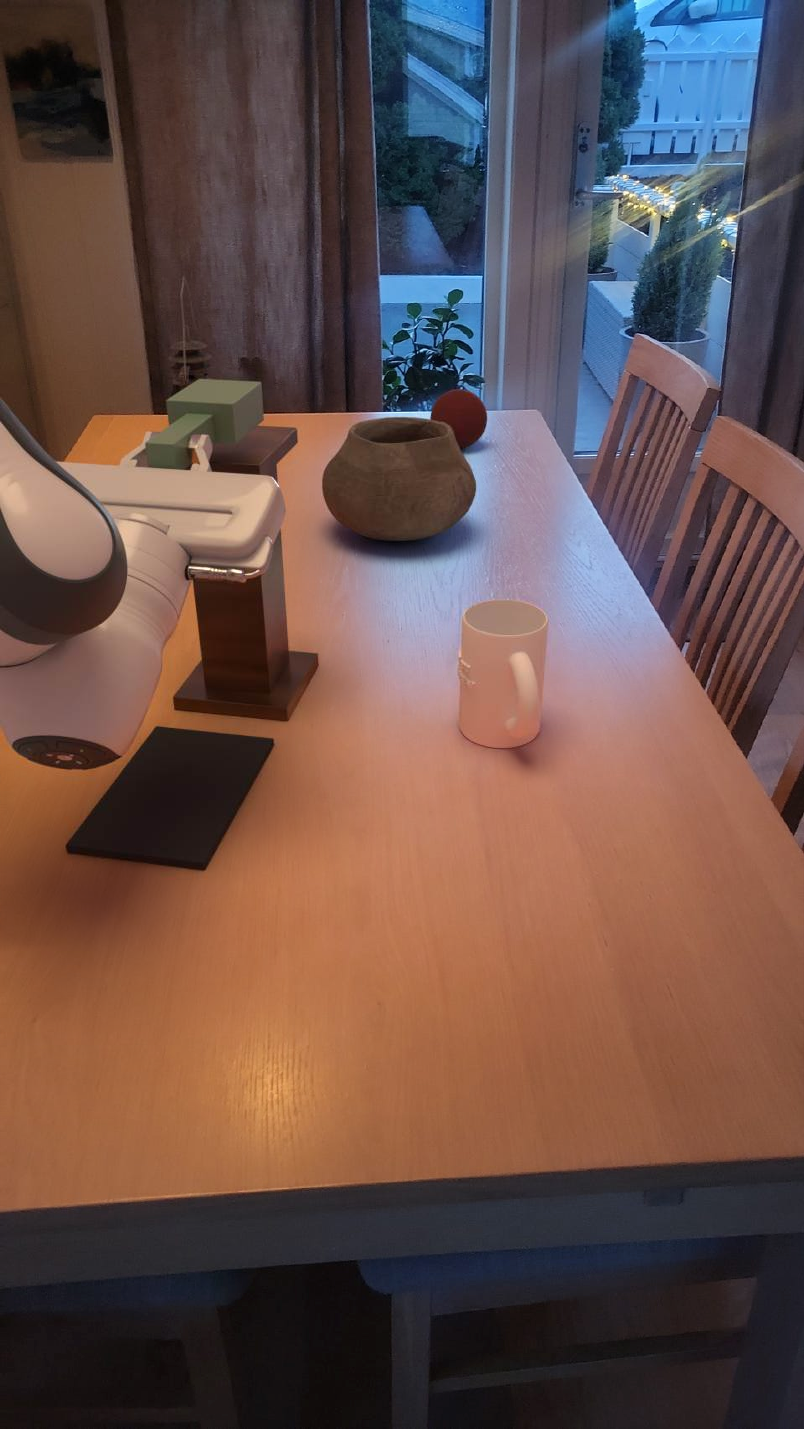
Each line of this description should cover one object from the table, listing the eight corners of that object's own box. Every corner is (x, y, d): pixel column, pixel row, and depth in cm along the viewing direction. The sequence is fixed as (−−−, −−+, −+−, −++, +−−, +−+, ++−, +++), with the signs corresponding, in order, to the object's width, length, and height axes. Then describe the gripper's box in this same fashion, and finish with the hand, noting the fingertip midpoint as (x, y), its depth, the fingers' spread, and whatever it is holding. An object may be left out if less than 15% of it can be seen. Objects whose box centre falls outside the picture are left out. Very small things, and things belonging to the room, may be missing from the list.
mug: (484, 777, 94) (489, 661, 88) (446, 712, 104) (448, 604, 98) (567, 764, 96) (579, 650, 89) (522, 701, 106) (530, 595, 99)
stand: (287, 721, 102) (270, 465, 89) (174, 709, 104) (140, 457, 91) (318, 665, 112) (307, 428, 99) (214, 655, 114) (189, 421, 101)
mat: (205, 870, 83) (204, 862, 82) (66, 852, 85) (65, 845, 84) (274, 745, 99) (273, 738, 98) (156, 732, 101) (155, 725, 100)
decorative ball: (424, 440, 186) (425, 384, 181) (478, 438, 187) (480, 382, 182) (436, 457, 177) (437, 398, 172) (492, 454, 179) (495, 395, 174)
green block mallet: (198, 477, 81) (194, 433, 79) (127, 472, 82) (121, 428, 80) (264, 420, 95) (261, 381, 94) (202, 416, 96) (199, 378, 95)
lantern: (178, 457, 177) (157, 270, 162) (240, 458, 177) (224, 270, 161) (161, 480, 167) (136, 282, 151) (226, 481, 166) (208, 282, 151)
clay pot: (294, 529, 148) (288, 425, 140) (407, 497, 159) (407, 400, 152) (390, 575, 133) (389, 462, 126) (506, 537, 145) (512, 431, 138)
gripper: (253, 557, 73) (295, 416, 80) (-9, 536, 77) (51, 403, 83) (271, 608, 79) (309, 473, 85) (25, 587, 82) (80, 458, 89)
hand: (180, 438), depth 84 cm, fingers closed on green block mallet, 2 cm apart
